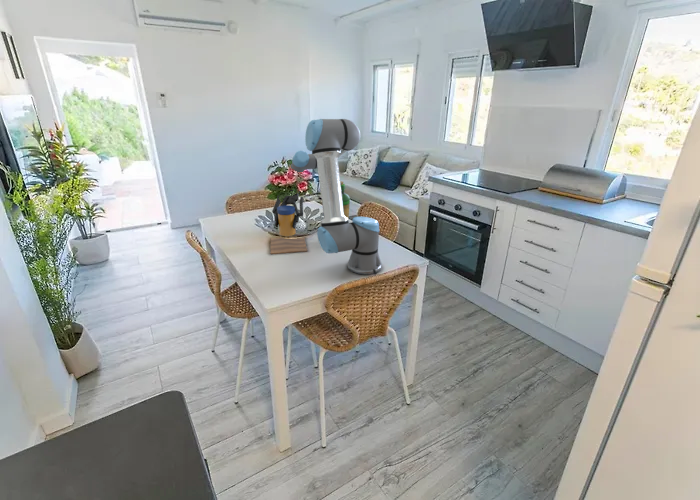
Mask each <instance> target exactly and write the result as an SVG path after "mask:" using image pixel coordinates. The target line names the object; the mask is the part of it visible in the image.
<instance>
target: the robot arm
mask: <svg viewBox="0 0 700 500" xmlns="http://www.w3.org/2000/svg"><path fill="white" fill-rule="evenodd" d="M304 137H305V139H304V140H305V141H304V142H305V147H306V150H308V151H309V152H311V153H308V152H306V151H304V150H298V151H296V152H295V153H294V154H293V158H292V160H291V161H292V164H291V168H292V169H294V170H295V171H297V172H303V171H304V172H305V170H317V173H318V182H319V190H320V197H321V206H322V213H323V218H322V219H321V222H320V226H319V227H318V228H317V232H316V234H317V240H318V243H319V245H320V247H321V249H322V250H323V251H324V253H326V254H338V253H342V252H346V251H347V252H348V251H351V253H350V256H349V259H348V261H347V269H348V270H349V271H350V272H351V273H353V274H356V275H357V274H358V275H364V276H367V275H377V273H379V272H380V271H381V270H382V261H381V258H380V254H379V239H380V223H379V222H378V220H376V219H374V218H372V217H369V216H354V217H353V218H352V219H351V222H349V220H348V218H346V217H345V216H344V209H343V200H342V192H341V183H340V181H341V177H340V174H341V173H340V166H339V159H338V158H340V157H342V155H344V154H345V153H346V152H349V151H352V150H353V149H355V148H356V147H357V146H358V145H359V143H360V141H361V132H360V129H359V127H358V125H357V124H356V123H355V122H354V121H352V120H350V119H347V118H319V119H312V120H310V121H309V122H308V124H307V126H306V130H305V136H304ZM304 172H303V173H304ZM290 191H293V190H290ZM279 196H280V195H277V196H276V201H275V203H274V206H273V208H272V210H271V212H272V214H273V215H274V218H273V219H274V221H275V222H274V226H275V228H276V229H279V223H278V213H277V207H279V206H284V205H290V206H294V207H295V216H294V221H293V226H292V227H293V228H294V229H295V228H296V227H297V223H299V221H300V217H303V216H304V201H305V199H304V197H303V196H300V193H299V194H298V193H297V194H295V195H293V196H286V197H285V198H284V199H282V201H280V200H279V198H278V197H279ZM298 201H299V208H298V206H297V202H298ZM298 209H299V210H298Z"/></svg>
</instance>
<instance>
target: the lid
mask: <svg viewBox="0 0 700 500" xmlns="http://www.w3.org/2000/svg"><path fill="white" fill-rule="evenodd" d="M277 213H278V214H280V215H290V214H293V213H295V214H296V212H295V207H294V205H291V204H287V205H284V206H280V205H279V207H277Z"/></svg>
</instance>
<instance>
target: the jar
mask: <svg viewBox="0 0 700 500" xmlns="http://www.w3.org/2000/svg"><path fill="white" fill-rule="evenodd" d="M295 215H296V212H295V213H293V214H290V215H280V214H278V223H279V224H278V234H279V235H280V236H281V237H293V236H294V235H296V233H297V229H296V228H295V229H294V228H293V227H292V226H293V221H294V216H295Z"/></svg>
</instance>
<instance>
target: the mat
mask: <svg viewBox="0 0 700 500" xmlns="http://www.w3.org/2000/svg"><path fill="white" fill-rule="evenodd" d="M307 252H308V247H307V242H306V239H305V236H304V237H303V238H297V239H284V238H282V237H270V255H277V254H278V255H280V254H294V253H307Z"/></svg>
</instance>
